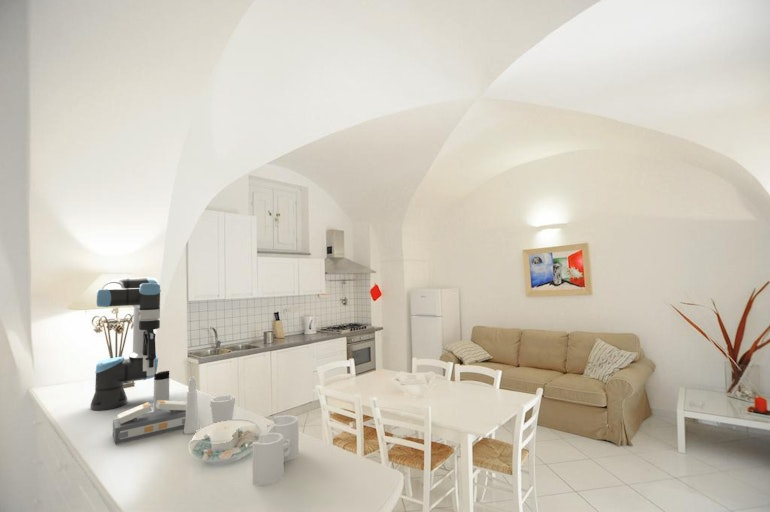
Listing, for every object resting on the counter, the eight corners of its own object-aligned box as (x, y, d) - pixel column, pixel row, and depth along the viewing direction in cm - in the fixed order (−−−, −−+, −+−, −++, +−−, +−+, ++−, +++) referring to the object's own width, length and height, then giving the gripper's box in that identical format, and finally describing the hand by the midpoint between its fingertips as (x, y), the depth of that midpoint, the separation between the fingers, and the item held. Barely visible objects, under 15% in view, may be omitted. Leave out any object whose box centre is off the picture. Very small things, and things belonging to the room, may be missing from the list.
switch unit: (112, 434, 155) (113, 416, 155) (185, 418, 172) (186, 402, 172) (115, 444, 145) (115, 425, 145) (192, 426, 162) (192, 409, 162)
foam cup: (210, 436, 151) (211, 403, 151) (209, 428, 159) (209, 397, 160) (236, 431, 155) (236, 399, 156) (233, 424, 163) (233, 393, 164)
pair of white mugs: (280, 485, 113) (280, 444, 114) (248, 486, 114) (248, 444, 115) (301, 448, 138) (301, 414, 139) (275, 448, 139) (275, 415, 139)
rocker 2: (155, 405, 162) (157, 399, 163) (183, 407, 169) (185, 400, 169) (158, 409, 157) (160, 402, 158) (186, 410, 164) (188, 404, 165)
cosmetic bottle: (203, 429, 158) (203, 376, 159) (189, 435, 153) (190, 379, 154) (193, 427, 161) (194, 374, 162) (180, 432, 156) (180, 378, 157)
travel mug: (162, 417, 174) (163, 372, 175) (150, 416, 175) (150, 372, 177) (172, 412, 180) (173, 369, 181) (160, 411, 181) (161, 369, 183)
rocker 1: (118, 420, 154) (117, 414, 153) (149, 407, 161) (147, 401, 160) (120, 424, 149) (118, 418, 149) (151, 410, 156) (149, 404, 156)
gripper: (135, 318, 167) (134, 369, 165) (142, 322, 149) (141, 379, 147) (155, 317, 171) (154, 367, 170) (164, 320, 154) (163, 376, 152)
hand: (148, 373), depth 159 cm, fingers open, 10 cm apart
